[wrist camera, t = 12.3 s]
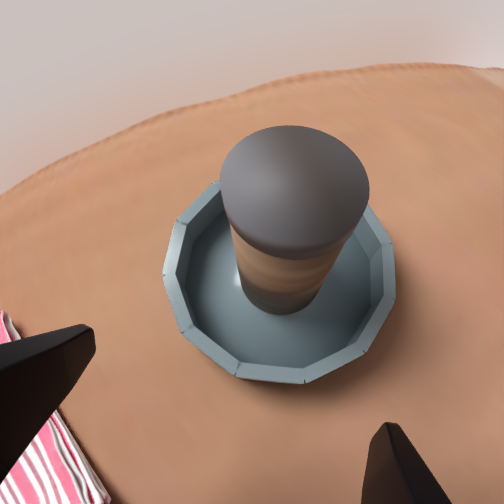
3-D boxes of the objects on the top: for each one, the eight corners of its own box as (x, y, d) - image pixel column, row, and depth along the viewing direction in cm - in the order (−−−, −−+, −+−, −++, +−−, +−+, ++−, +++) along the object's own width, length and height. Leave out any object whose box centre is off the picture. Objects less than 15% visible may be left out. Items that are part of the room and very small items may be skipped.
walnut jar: (262, 331, 18) (264, 272, 9) (224, 258, 20) (198, 153, 11) (337, 291, 19) (397, 206, 10) (296, 225, 21) (316, 112, 12)
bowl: (304, 424, 16) (312, 430, 14) (138, 295, 20) (121, 280, 17) (407, 257, 21) (425, 238, 18) (258, 164, 24) (258, 138, 22)
